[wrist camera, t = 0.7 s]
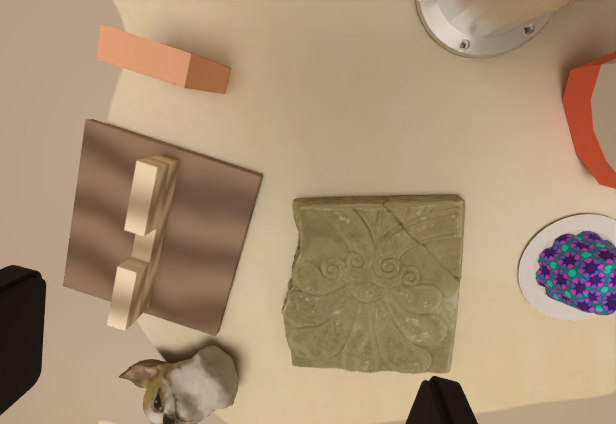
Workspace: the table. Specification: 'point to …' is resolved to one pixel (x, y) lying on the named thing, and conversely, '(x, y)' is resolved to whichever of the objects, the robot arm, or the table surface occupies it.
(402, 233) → the decorative tile
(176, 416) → the ceramic sculpture
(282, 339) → the table surface
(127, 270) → the slotted stand
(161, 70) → the notched plate
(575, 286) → the pudding
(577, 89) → the french fries container
